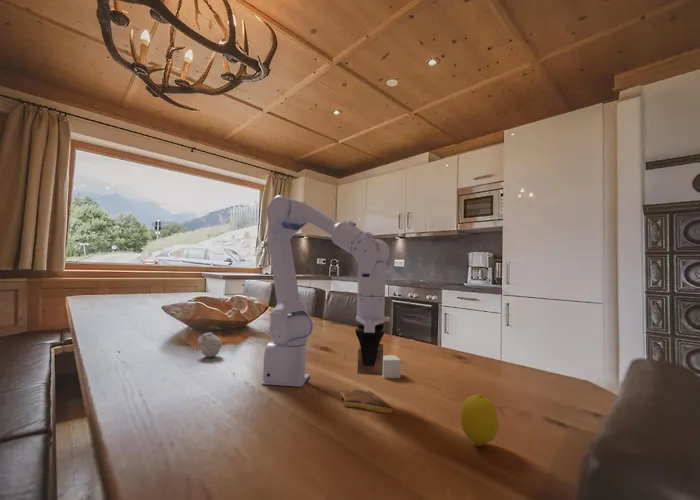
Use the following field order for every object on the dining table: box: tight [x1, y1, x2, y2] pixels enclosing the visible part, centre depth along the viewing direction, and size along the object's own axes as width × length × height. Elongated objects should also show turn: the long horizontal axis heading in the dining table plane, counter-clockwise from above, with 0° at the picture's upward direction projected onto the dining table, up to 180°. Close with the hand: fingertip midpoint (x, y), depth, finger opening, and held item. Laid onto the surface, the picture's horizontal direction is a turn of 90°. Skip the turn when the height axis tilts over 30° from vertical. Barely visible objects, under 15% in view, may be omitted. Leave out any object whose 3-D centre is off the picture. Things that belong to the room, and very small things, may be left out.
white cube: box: [381, 354, 402, 379], centre depth 84 cm, size 4×4×4 cm
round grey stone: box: [197, 332, 223, 358], centre depth 95 cm, size 6×7×7 cm
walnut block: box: [356, 343, 384, 377], centre depth 67 cm, size 5×5×5 cm
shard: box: [339, 388, 395, 414], centre depth 65 cm, size 11×8×2 cm
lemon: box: [460, 393, 499, 447], centre depth 52 cm, size 6×6×8 cm
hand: (369, 361), depth 67 cm, fingers closed on walnut block, 5 cm apart
